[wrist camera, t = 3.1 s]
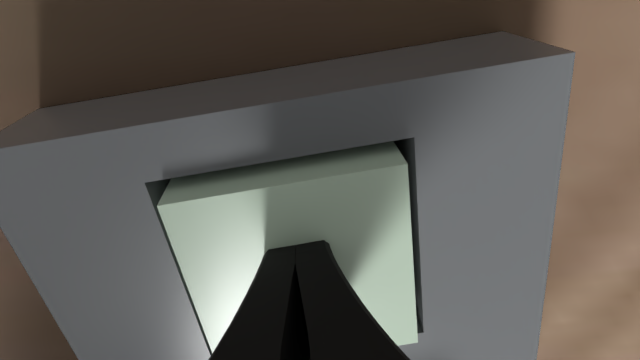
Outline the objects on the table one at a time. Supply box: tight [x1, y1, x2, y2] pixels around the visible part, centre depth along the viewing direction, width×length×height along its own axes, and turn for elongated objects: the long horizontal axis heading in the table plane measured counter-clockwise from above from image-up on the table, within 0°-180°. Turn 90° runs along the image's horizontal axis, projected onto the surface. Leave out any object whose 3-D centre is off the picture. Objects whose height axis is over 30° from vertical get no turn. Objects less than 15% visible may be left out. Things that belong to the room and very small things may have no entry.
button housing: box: [0, 31, 575, 360], centre depth 13 cm, size 17×12×3 cm
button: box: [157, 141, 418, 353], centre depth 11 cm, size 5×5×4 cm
